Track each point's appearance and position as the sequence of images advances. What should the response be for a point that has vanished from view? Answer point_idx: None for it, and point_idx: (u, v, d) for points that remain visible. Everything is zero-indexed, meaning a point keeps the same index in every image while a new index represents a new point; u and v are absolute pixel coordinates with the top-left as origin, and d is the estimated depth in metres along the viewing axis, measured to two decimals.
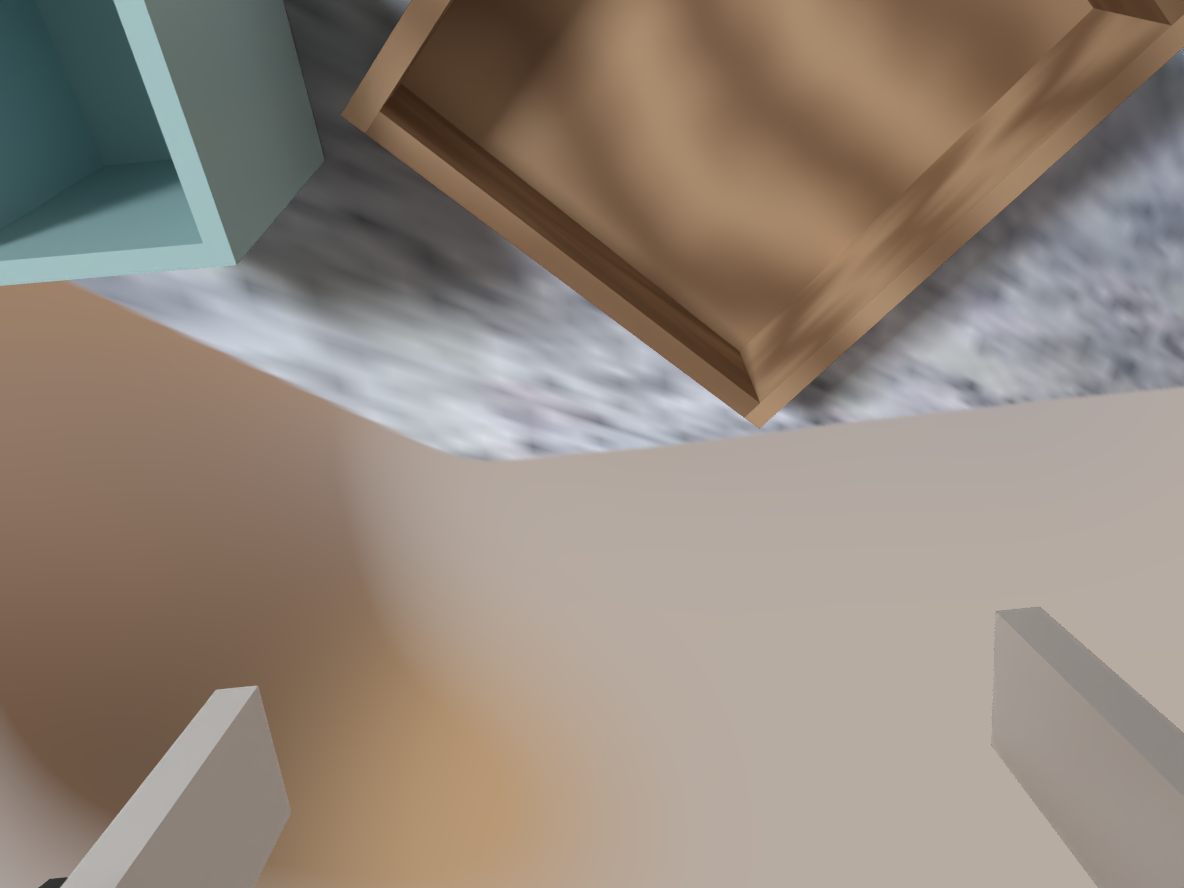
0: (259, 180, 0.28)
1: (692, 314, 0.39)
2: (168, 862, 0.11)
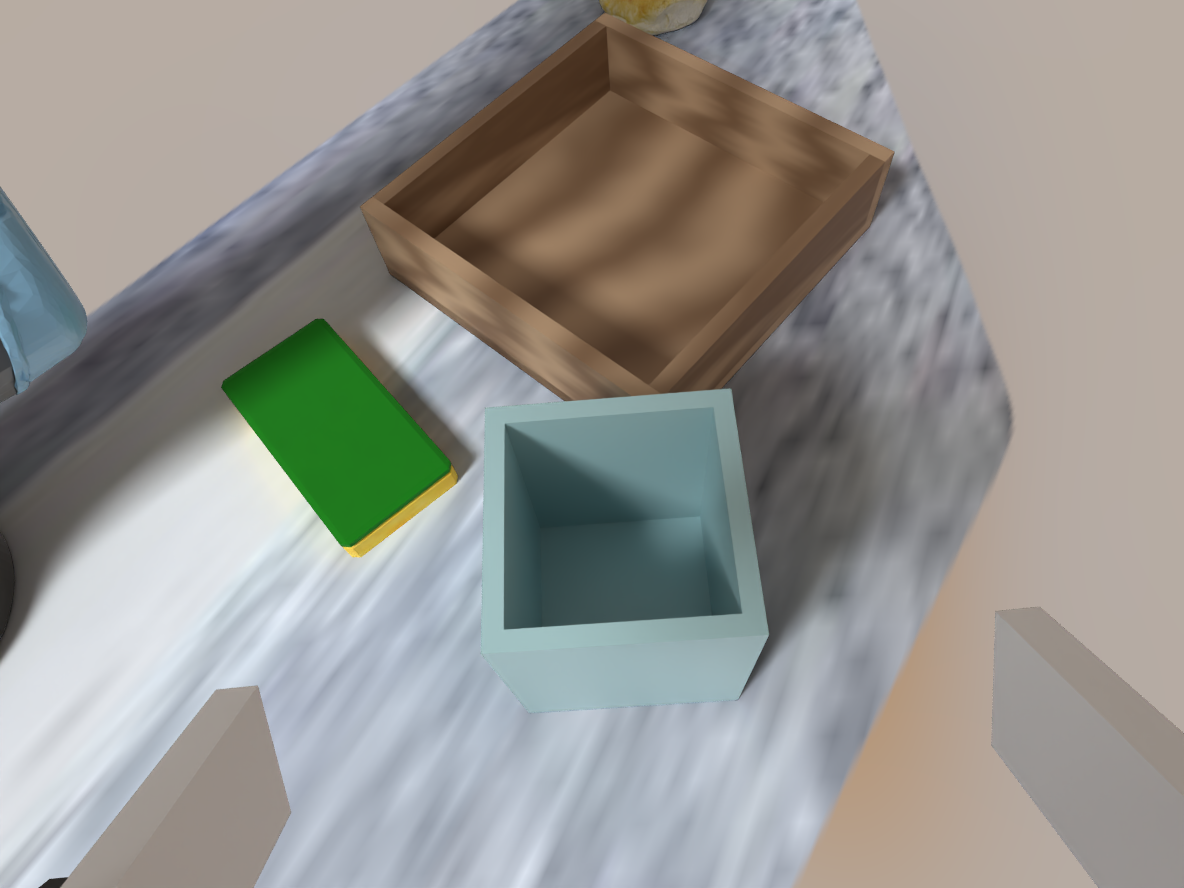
0: None
1: None
2: (169, 862, 0.11)
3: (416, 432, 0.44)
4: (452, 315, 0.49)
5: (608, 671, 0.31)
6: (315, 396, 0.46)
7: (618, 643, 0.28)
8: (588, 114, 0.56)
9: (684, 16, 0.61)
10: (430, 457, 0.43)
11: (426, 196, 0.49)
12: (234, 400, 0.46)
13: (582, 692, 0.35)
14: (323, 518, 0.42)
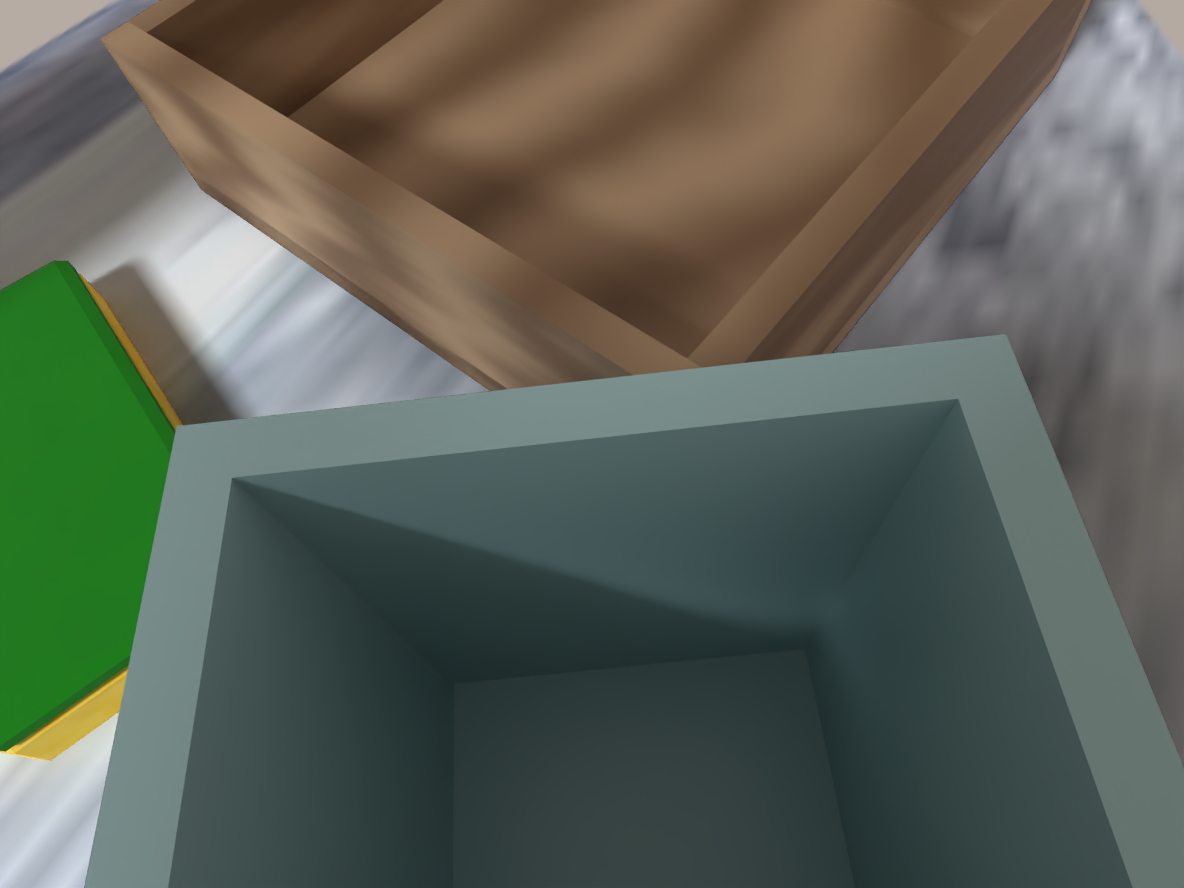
0: None
1: None
2: None
3: None
4: (302, 253, 0.27)
5: None
6: (11, 407, 0.23)
7: None
8: None
9: None
10: None
11: (246, 34, 0.26)
12: None
13: None
14: None
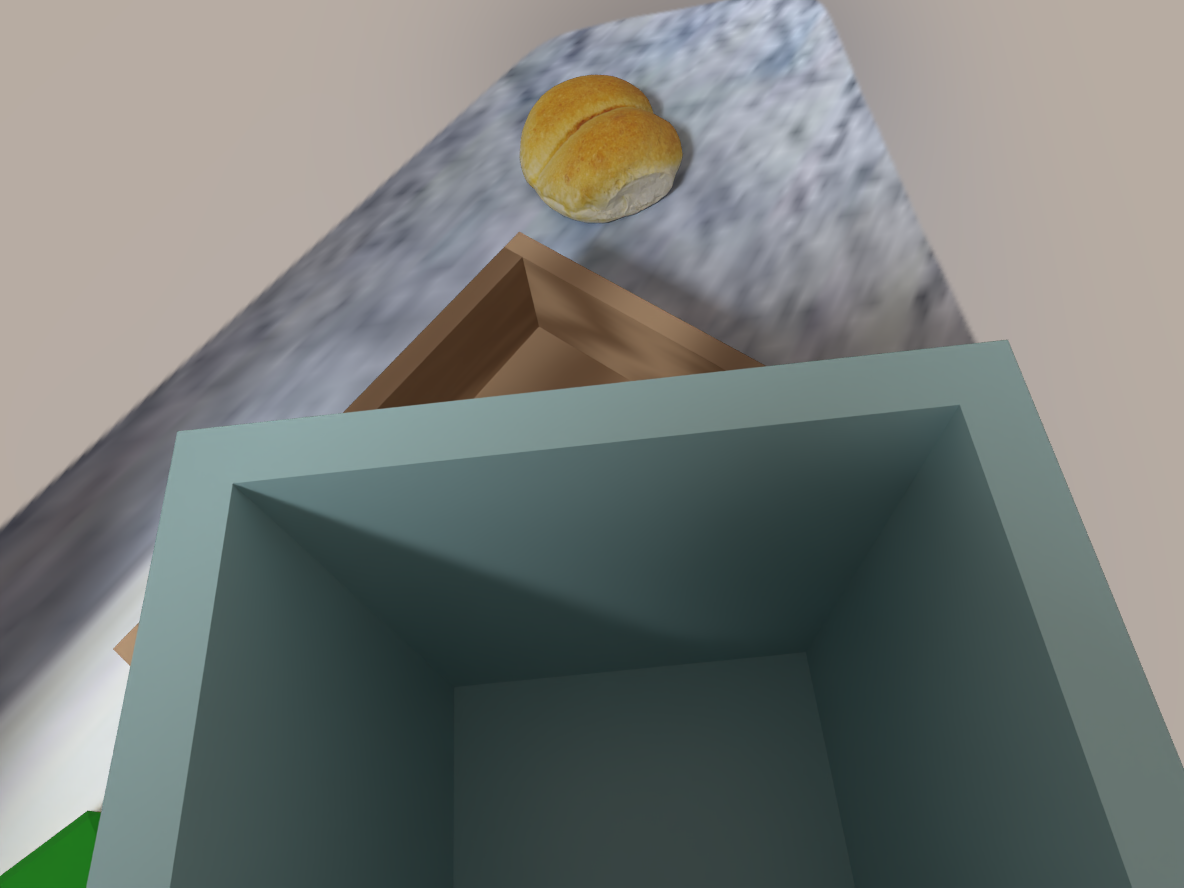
0: None
1: None
2: None
3: None
4: None
5: None
6: None
7: None
8: (507, 371, 0.37)
9: (648, 194, 0.41)
10: None
11: None
12: None
13: None
14: None
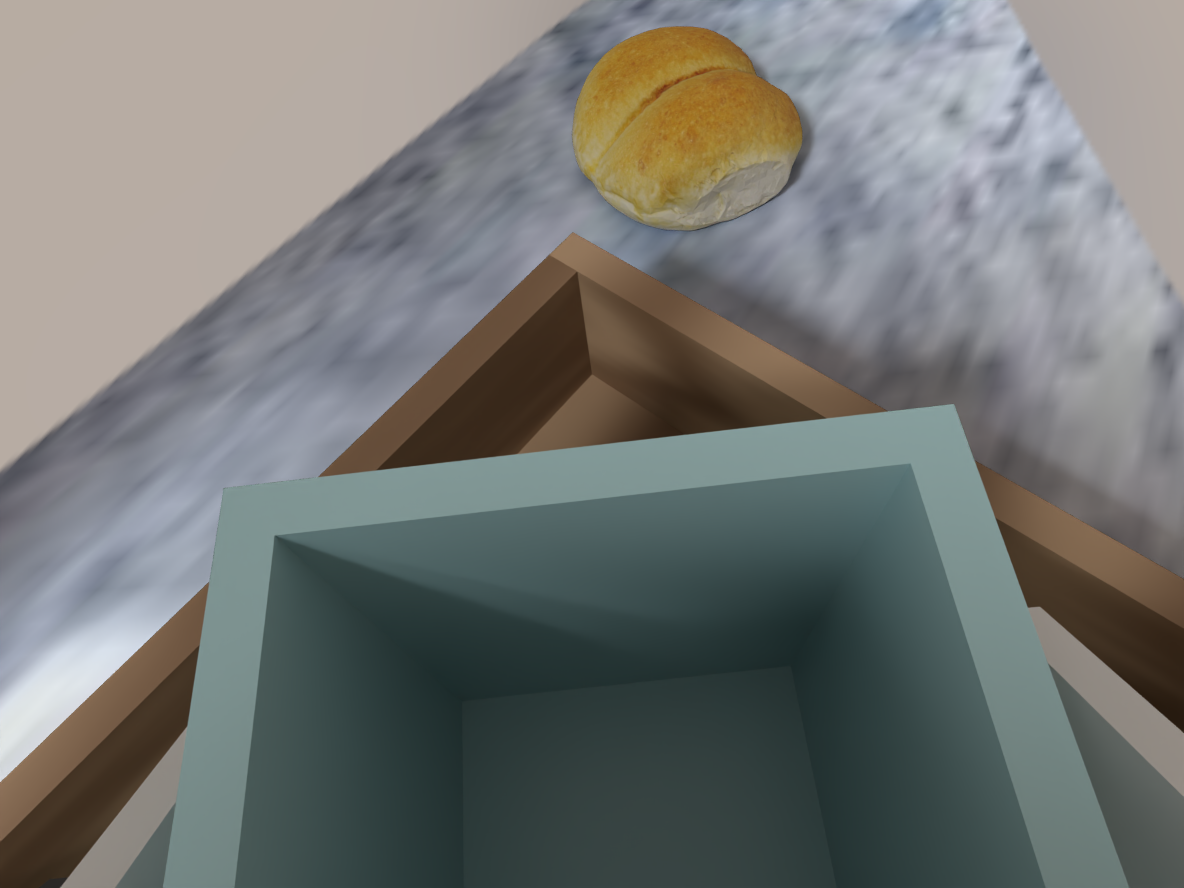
0: None
1: None
2: None
3: None
4: None
5: None
6: None
7: None
8: (544, 441, 0.25)
9: (754, 192, 0.29)
10: None
11: (81, 821, 0.17)
12: None
13: None
14: None
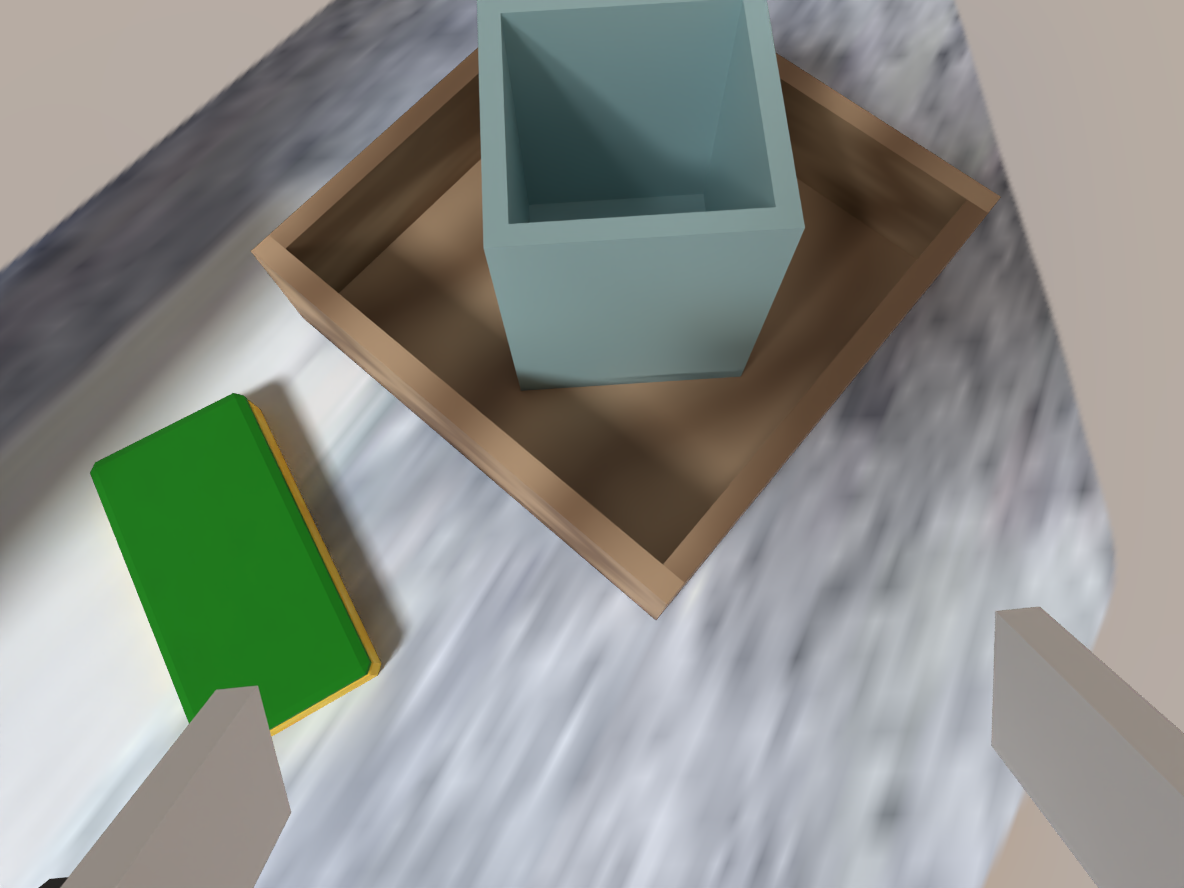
0: None
1: None
2: (169, 862, 0.11)
3: (333, 608, 0.32)
4: (389, 390, 0.37)
5: (617, 301, 0.29)
6: (210, 517, 0.34)
7: (638, 236, 0.25)
8: None
9: None
10: (344, 652, 0.32)
11: (348, 225, 0.35)
12: (103, 498, 0.34)
13: (583, 348, 0.32)
14: (187, 712, 0.31)
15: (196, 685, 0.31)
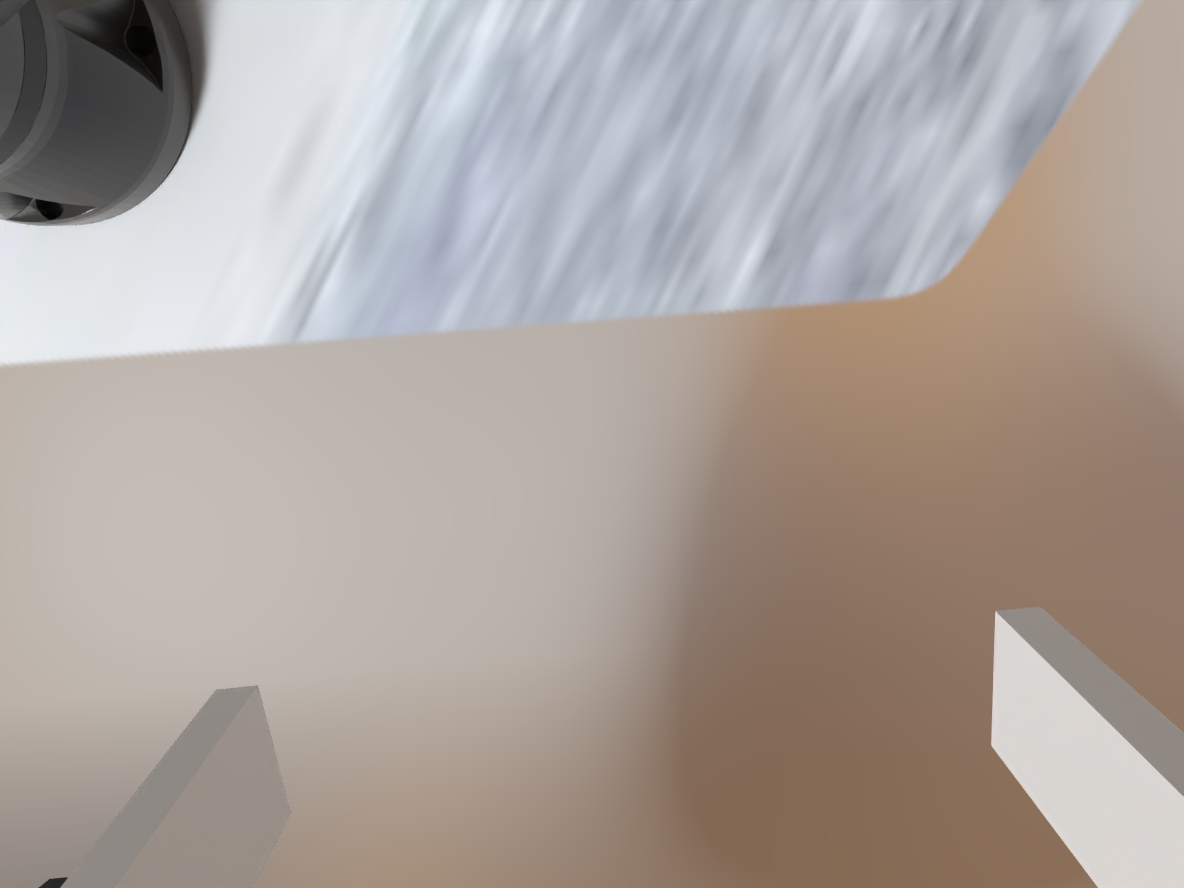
0: None
1: None
2: (168, 862, 0.11)
3: None
4: None
5: None
6: None
7: None
8: None
9: None
10: None
11: None
12: None
13: None
14: None
15: None
